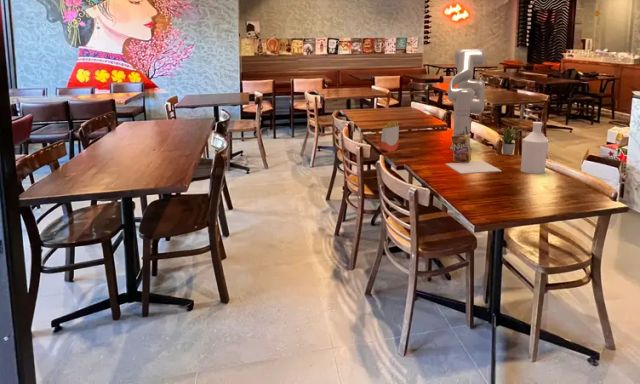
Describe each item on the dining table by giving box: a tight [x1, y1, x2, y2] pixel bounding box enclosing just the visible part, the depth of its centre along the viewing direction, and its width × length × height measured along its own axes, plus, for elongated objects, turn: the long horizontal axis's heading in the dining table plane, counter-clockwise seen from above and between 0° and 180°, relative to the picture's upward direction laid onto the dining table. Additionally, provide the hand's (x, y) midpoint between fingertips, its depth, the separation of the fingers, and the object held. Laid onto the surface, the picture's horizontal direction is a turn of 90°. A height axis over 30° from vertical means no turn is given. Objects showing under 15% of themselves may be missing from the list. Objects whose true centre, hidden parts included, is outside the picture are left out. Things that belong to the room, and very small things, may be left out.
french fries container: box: [380, 120, 400, 153], centre depth 310 cm, size 5×11×18 cm, turn 130°
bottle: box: [520, 121, 549, 175], centre depth 259 cm, size 12×12×25 cm
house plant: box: [499, 126, 522, 155], centre depth 296 cm, size 14×14×16 cm
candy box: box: [451, 134, 472, 163], centre depth 279 cm, size 9×4×15 cm, turn 56°
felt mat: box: [445, 160, 502, 175], centre depth 270 cm, size 20×22×1 cm
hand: (460, 146), depth 283 cm, fingers closed
